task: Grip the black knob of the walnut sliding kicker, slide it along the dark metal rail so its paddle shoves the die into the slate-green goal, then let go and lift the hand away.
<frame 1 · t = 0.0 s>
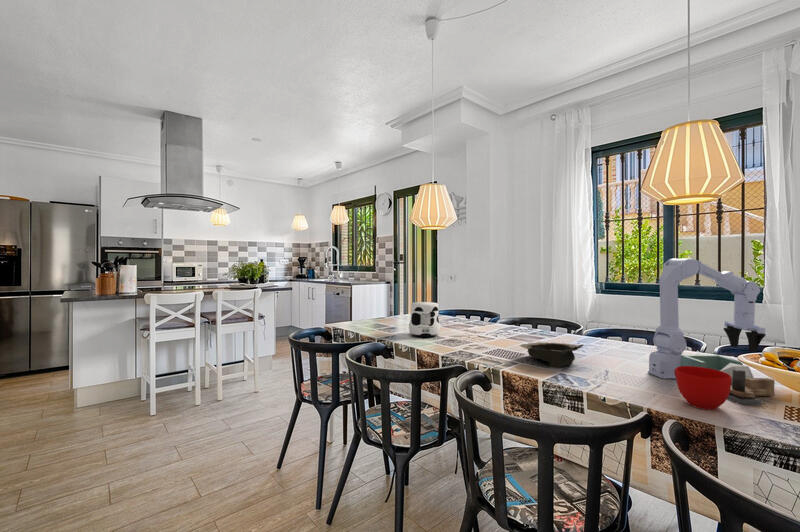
hand: (743, 349, 143), 10 cm above the table, tool pointing down, fingers open, 7 cm apart
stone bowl: (549, 362, 161), on the table
milk container: (424, 335, 213), on the table
die: (736, 388, 130), on the table
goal: (710, 377, 141), on the table
kicker: (754, 383, 119), point 5 cm above the table, slide at 0.0 cm
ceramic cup: (696, 403, 115), on the table
rail: (725, 393, 123), on the table
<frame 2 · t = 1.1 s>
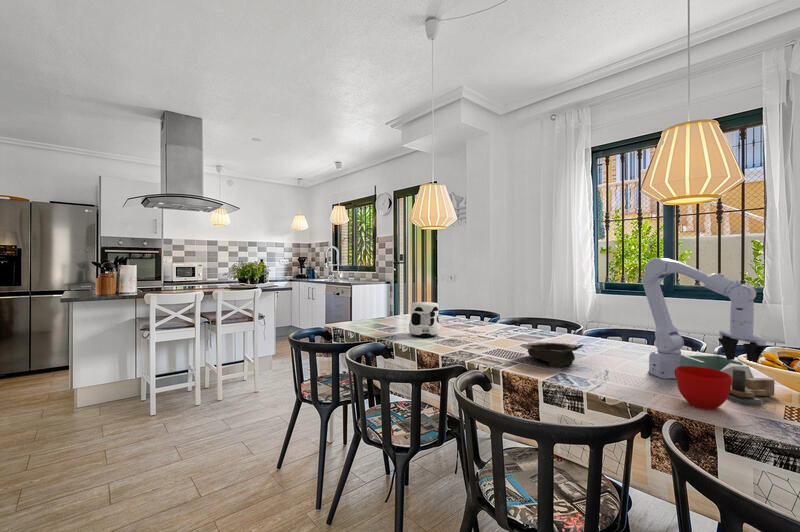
hand: (740, 362, 125), 10 cm above the table, tool pointing down, fingers open, 7 cm apart
nothing on the table moved.
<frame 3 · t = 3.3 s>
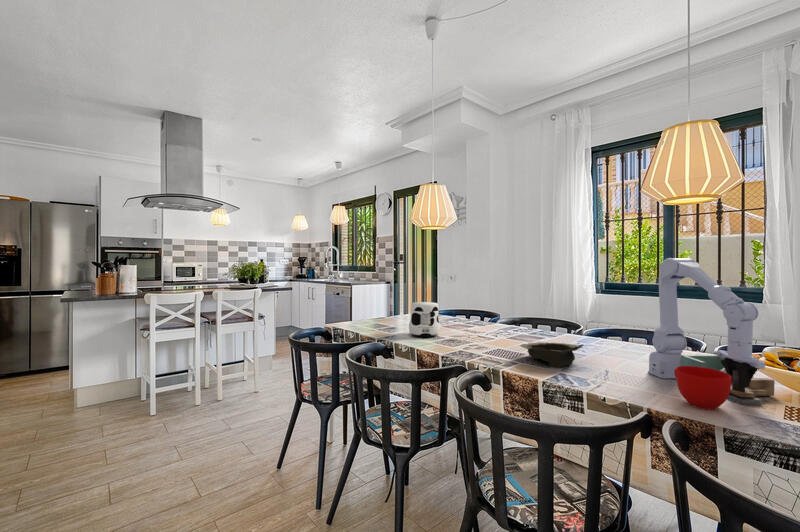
hand: (738, 385, 118), 4 cm above the table, tool pointing down, fingers closed on kicker, 3 cm apart
kicker: (754, 383, 119), point 5 cm above the table, slide at 0.0 cm, touching gripper
everything else where it was.
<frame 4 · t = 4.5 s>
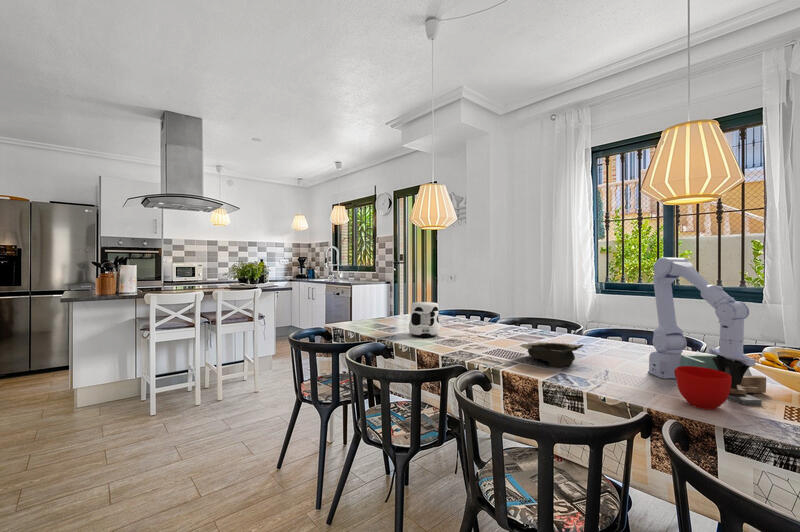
hand: (730, 382, 121), 4 cm above the table, tool pointing down, fingers open, 3 cm apart
die: (735, 387, 130), on the table, touching kicker
kicker: (746, 381, 122), point 5 cm above the table, slide at 2.7 cm, touching die, gripper
everything else where it was.
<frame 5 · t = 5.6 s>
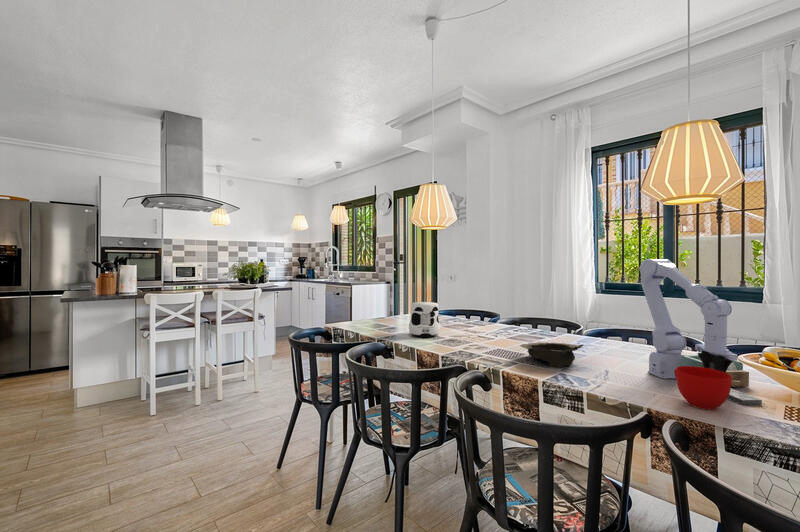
hand: (714, 376, 127), 4 cm above the table, tool pointing down, fingers open, 3 cm apart
die: (722, 381, 136), on the table, touching kicker
kicker: (730, 375, 128), point 5 cm above the table, slide at 8.7 cm, touching die, gripper
everything else where it was.
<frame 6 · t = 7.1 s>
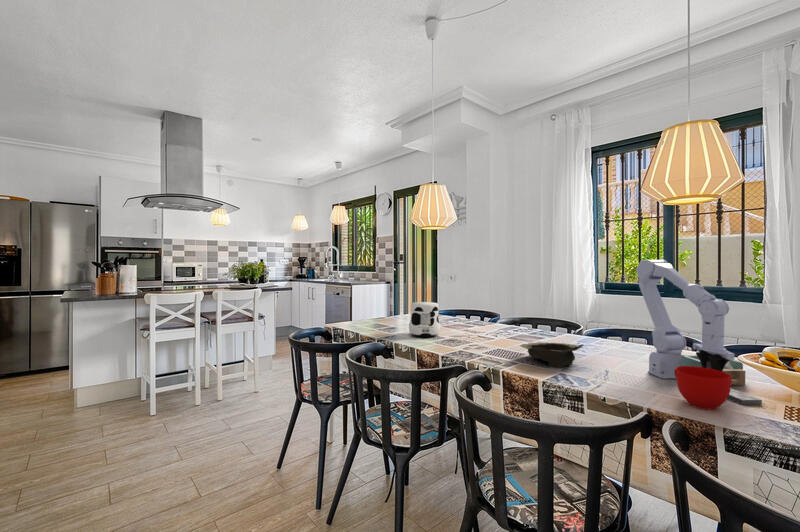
hand: (711, 375, 128), 4 cm above the table, tool pointing down, fingers closed on kicker, 3 cm apart
die: (719, 380, 137), on the table
kicker: (726, 374, 129), point 5 cm above the table, slide at 10.0 cm, touching gripper
everything else where it was.
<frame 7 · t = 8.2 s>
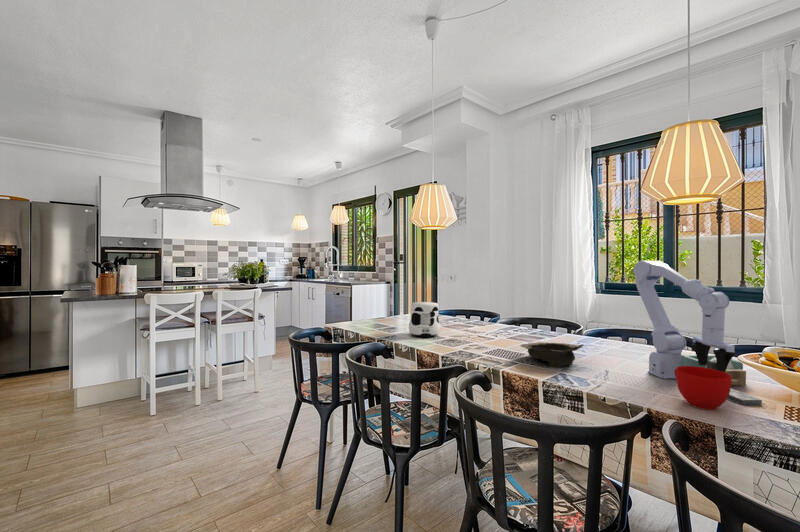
hand: (711, 368, 128), 7 cm above the table, tool pointing down, fingers open, 7 cm apart
kicker: (727, 374, 129), point 5 cm above the table, slide at 9.8 cm
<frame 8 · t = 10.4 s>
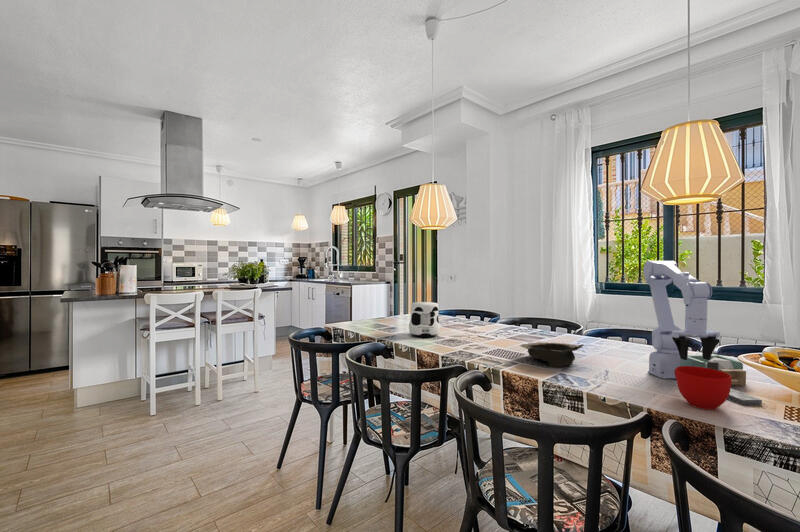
hand: (694, 359, 126), 10 cm above the table, tool pointing down, fingers open, 7 cm apart
at the end: die inside the target area (2.3 cm from its centre), on the table; kicker slide at 9.8 cm; die tilted 0° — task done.
